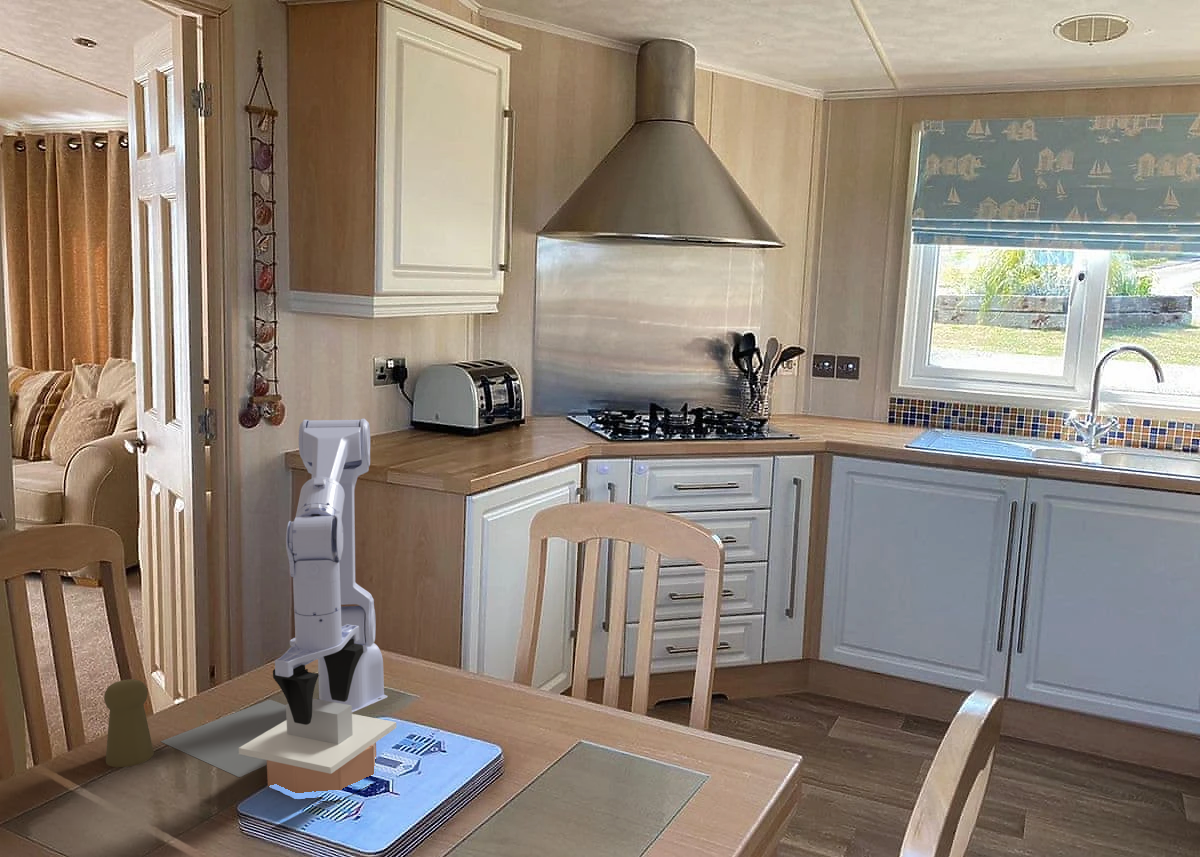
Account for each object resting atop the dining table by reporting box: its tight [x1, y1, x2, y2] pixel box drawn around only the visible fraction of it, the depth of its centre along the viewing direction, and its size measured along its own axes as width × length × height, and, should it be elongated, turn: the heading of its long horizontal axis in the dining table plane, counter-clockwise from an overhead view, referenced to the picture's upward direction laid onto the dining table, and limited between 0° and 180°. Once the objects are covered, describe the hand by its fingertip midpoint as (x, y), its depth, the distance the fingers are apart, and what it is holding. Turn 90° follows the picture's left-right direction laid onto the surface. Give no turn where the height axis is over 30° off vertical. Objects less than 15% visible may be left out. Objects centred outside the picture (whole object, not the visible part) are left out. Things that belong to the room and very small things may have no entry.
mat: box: [160, 699, 287, 778], centre depth 141 cm, size 18×18×1 cm
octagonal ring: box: [266, 742, 377, 793], centre depth 129 cm, size 13×13×5 cm
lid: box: [239, 697, 397, 774], centre depth 129 cm, size 14×14×5 cm
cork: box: [103, 678, 155, 768], centre depth 133 cm, size 6×6×11 cm
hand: (321, 710), depth 128 cm, fingers open, 7 cm apart
